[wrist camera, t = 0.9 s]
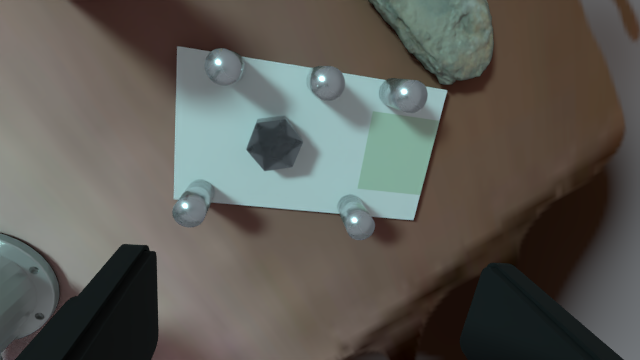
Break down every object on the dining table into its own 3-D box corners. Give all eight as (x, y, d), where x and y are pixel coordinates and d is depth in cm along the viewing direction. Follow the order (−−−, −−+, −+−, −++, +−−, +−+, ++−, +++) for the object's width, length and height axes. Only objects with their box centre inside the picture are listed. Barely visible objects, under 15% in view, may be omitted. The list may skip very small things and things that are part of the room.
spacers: (376, 219, 36) (392, 242, 32) (186, 203, 33) (172, 225, 28) (407, 80, 32) (431, 82, 27) (192, 44, 28) (176, 40, 24)
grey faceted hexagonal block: (303, 158, 33) (306, 165, 31) (252, 165, 32) (250, 173, 30) (298, 113, 31) (300, 117, 29) (243, 120, 31) (241, 124, 29)
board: (409, 216, 38) (413, 220, 37) (176, 195, 33) (173, 199, 33) (442, 89, 34) (447, 90, 33) (180, 46, 29) (177, 46, 28)
